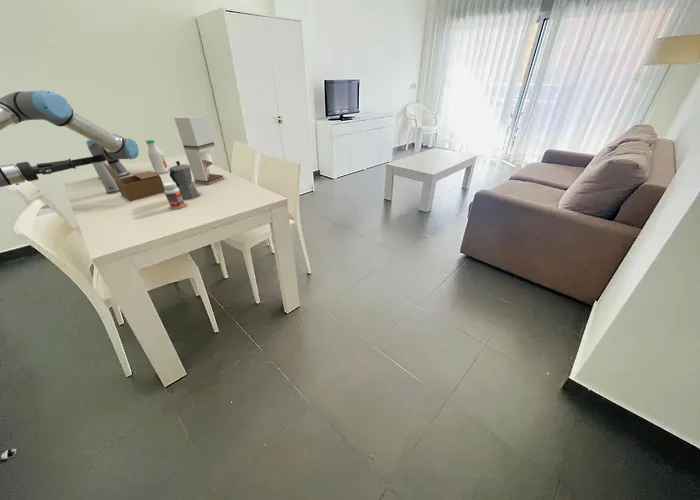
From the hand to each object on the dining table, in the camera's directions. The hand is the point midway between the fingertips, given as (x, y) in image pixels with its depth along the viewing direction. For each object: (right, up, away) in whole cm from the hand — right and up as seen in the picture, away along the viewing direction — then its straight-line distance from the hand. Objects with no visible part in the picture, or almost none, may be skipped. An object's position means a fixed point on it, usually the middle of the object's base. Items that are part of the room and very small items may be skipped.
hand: (90, 160), depth 131 cm
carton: (+10, -11, +20) cm, 25 cm away
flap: (+4, -4, +8) cm, 9 cm away
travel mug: (-9, -10, +24) cm, 28 cm away
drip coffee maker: (+37, -1, +37) cm, 52 cm away
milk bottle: (-3, +9, +55) cm, 55 cm away
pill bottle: (+38, -21, +4) cm, 44 cm away
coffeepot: (+37, -15, +14) cm, 43 cm away
